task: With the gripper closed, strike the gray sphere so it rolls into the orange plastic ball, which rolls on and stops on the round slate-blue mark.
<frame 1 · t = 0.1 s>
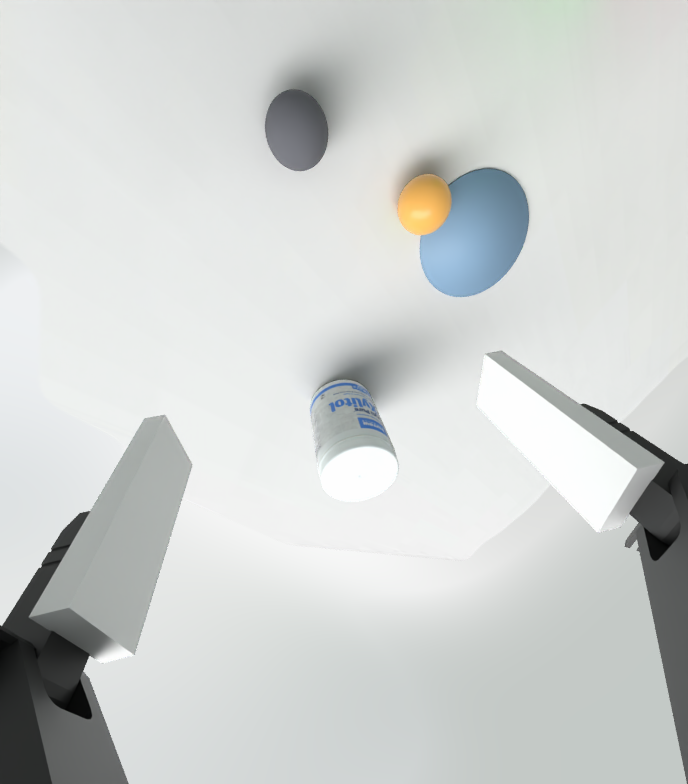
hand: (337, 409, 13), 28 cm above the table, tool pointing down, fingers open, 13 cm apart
gray sphere: (297, 132, 27), on the table
supplement tub: (339, 403, 47), on the table
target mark: (473, 239, 38), on the table
object ball: (424, 205, 32), on the table
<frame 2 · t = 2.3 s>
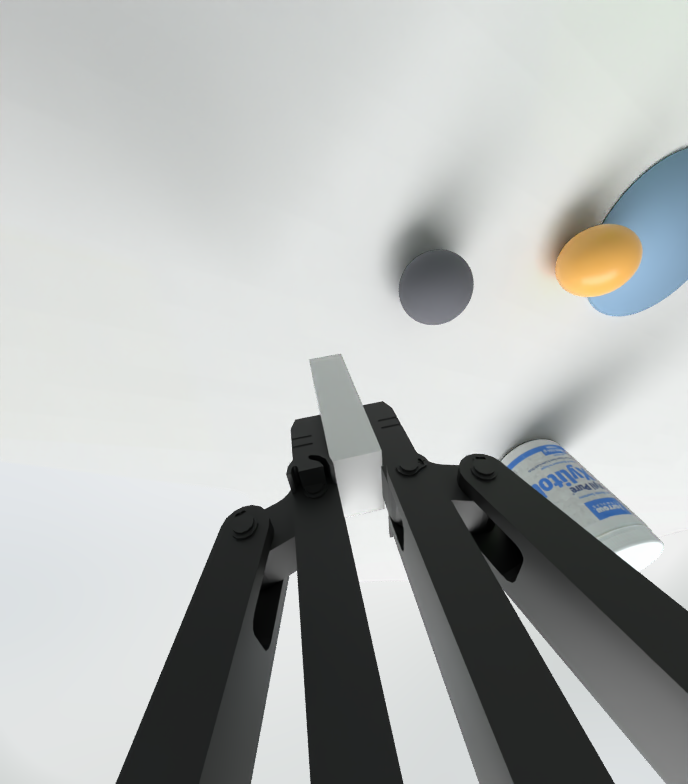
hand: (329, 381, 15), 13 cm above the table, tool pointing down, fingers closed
gray sphere: (434, 288, 24), on the table
supplement tub: (523, 461, 43), on the table
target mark: (657, 241, 28), on the table
object ball: (595, 262, 25), on the table
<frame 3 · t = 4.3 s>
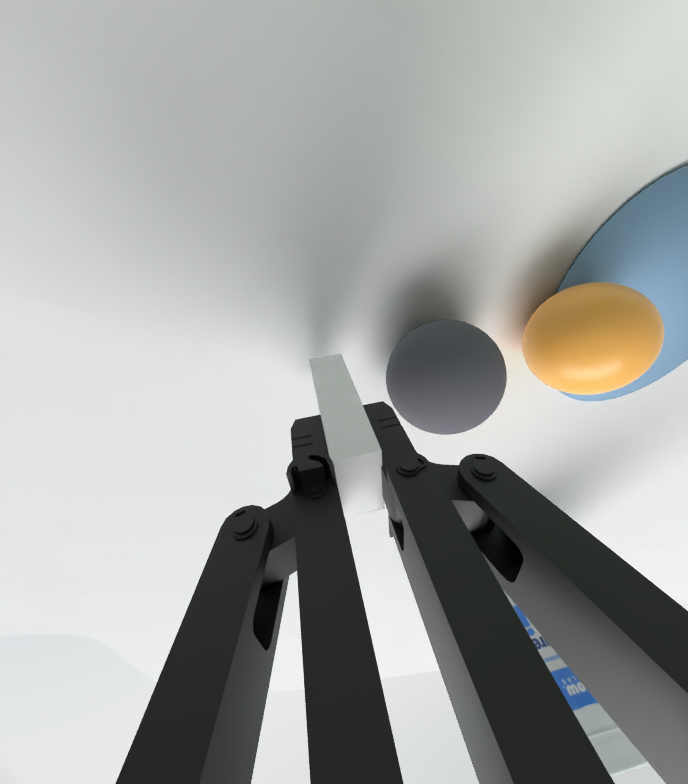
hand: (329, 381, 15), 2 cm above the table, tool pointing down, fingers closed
gray sphere: (442, 377, 15), on the table
supplement tub: (481, 562, 33), on the table
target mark: (651, 302, 18), on the table
object ball: (585, 340, 15), on the table
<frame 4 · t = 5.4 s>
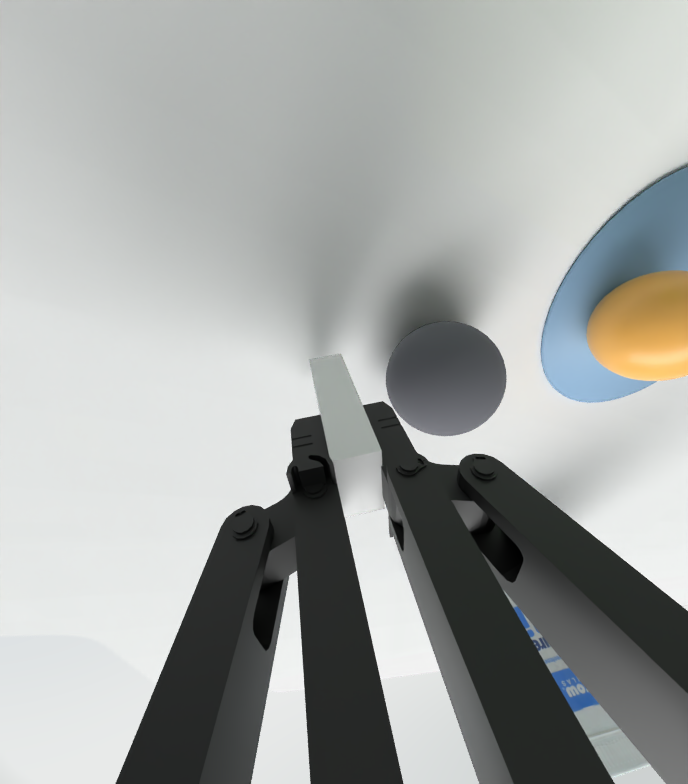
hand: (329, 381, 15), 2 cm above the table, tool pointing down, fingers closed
gray sphere: (442, 379, 15), on the table
supplement tub: (481, 563, 33), on the table
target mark: (651, 303, 18), on the table
object ball: (654, 327, 16), on the table
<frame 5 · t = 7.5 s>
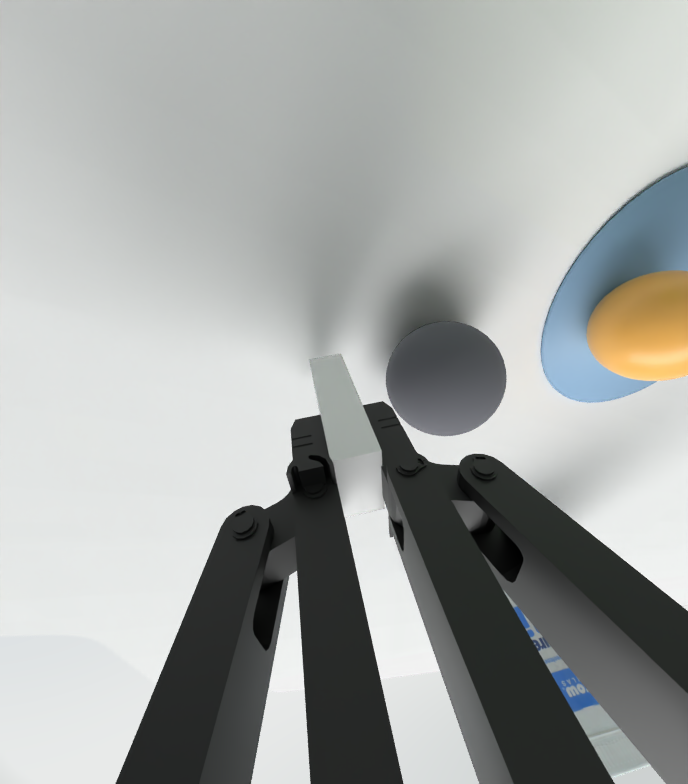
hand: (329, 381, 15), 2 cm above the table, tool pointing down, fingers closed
gray sphere: (442, 379, 15), on the table
supplement tub: (481, 563, 33), on the table
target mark: (651, 303, 18), on the table
object ball: (654, 327, 16), on the table
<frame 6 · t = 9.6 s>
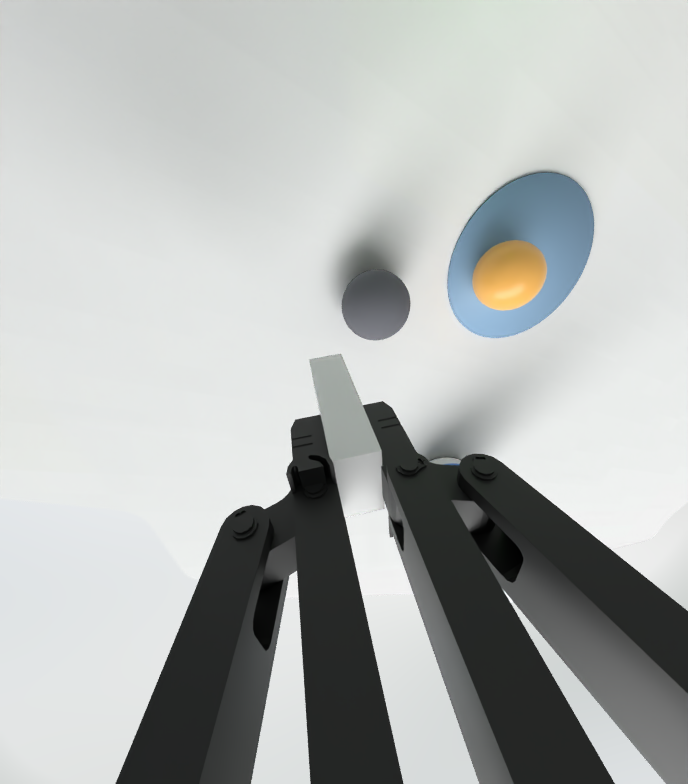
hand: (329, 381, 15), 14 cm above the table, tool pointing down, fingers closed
gray sphere: (375, 305, 25), on the table
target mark: (519, 265, 28), on the table
object ball: (507, 276, 26), on the table
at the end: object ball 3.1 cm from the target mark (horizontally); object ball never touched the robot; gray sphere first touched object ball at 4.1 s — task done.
